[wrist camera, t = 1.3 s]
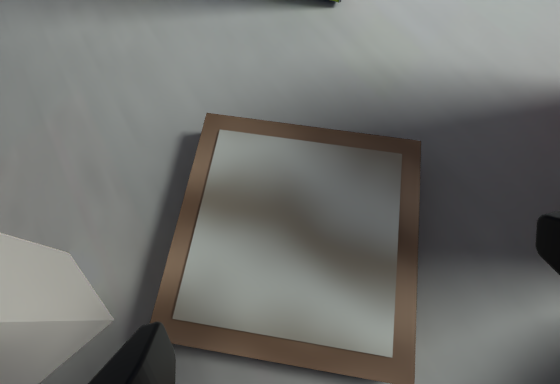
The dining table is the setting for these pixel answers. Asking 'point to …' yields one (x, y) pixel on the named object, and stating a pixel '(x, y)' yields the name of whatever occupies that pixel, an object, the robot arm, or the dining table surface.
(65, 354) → the carton
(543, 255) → the robot arm
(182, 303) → the wooden tray
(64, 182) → the dining table surface
